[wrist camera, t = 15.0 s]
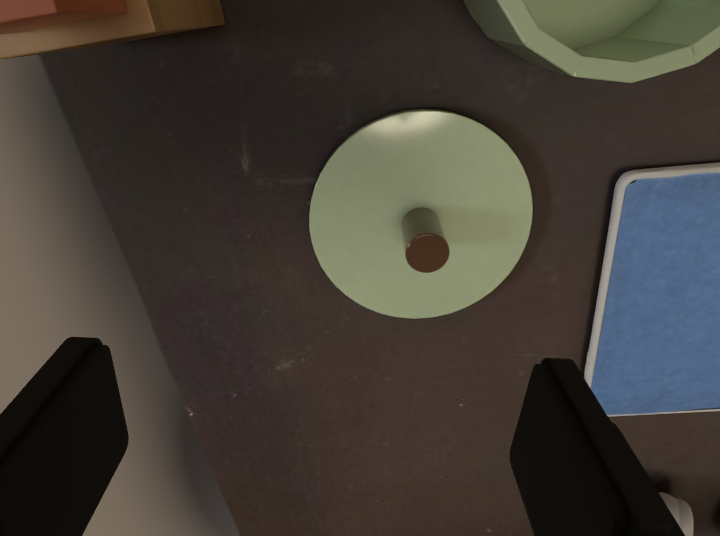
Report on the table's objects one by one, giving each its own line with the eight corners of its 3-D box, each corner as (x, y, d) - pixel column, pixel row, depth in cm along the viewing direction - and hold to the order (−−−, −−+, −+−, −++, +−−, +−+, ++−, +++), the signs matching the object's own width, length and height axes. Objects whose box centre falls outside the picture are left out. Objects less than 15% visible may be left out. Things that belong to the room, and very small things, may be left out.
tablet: (739, 400, 38) (751, 413, 37) (573, 410, 39) (580, 422, 38) (827, 151, 29) (846, 156, 28) (610, 168, 30) (620, 174, 29)
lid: (499, 317, 35) (520, 364, 30) (305, 300, 34) (296, 345, 30) (553, 119, 29) (589, 141, 24) (317, 94, 28) (308, 111, 23)
